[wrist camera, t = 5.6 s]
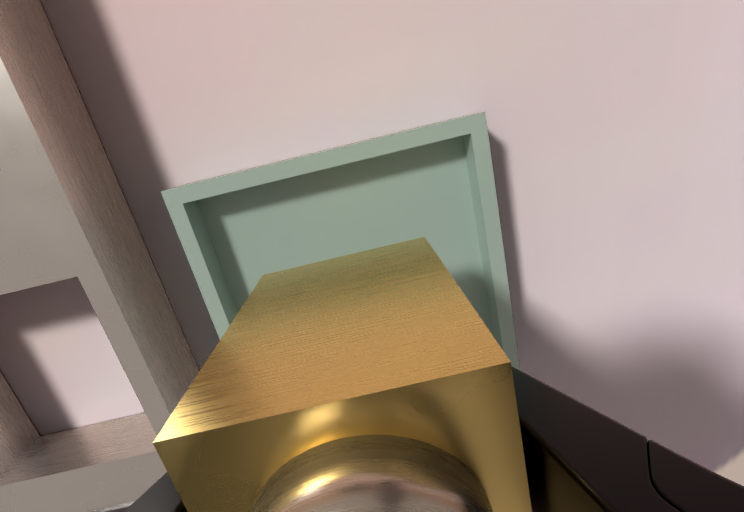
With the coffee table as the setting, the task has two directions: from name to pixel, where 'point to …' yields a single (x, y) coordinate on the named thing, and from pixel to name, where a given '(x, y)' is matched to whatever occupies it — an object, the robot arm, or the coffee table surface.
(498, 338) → the parts tray
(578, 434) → the robot arm
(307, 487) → the brass block with knob
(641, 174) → the coffee table surface
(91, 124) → the grey slotted plate
